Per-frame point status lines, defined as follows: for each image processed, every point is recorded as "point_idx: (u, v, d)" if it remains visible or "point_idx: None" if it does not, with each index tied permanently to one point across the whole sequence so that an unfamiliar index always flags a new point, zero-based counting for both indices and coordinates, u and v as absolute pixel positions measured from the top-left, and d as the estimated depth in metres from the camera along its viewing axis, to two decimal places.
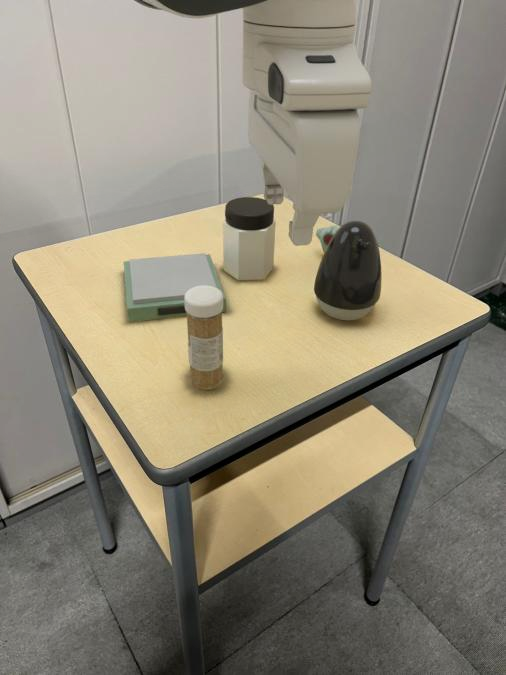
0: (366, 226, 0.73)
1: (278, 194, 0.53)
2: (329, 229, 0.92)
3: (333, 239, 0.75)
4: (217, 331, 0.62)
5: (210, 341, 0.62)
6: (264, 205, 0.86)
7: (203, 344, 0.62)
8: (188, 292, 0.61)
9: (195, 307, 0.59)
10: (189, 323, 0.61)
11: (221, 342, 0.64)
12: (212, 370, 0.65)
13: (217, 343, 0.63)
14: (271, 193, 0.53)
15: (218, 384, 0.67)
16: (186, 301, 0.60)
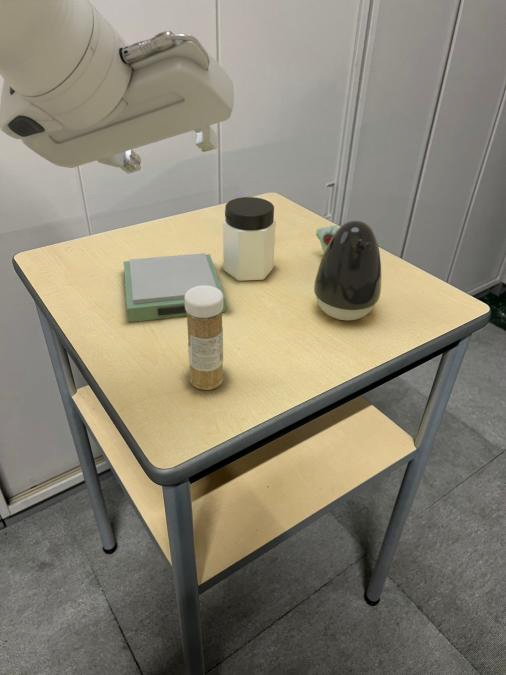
0: (366, 226, 0.73)
1: None
2: (329, 229, 0.92)
3: (333, 239, 0.75)
4: (217, 331, 0.62)
5: (211, 341, 0.62)
6: (264, 205, 0.86)
7: (203, 344, 0.62)
8: (188, 292, 0.61)
9: (195, 307, 0.59)
10: (189, 323, 0.61)
11: (221, 342, 0.64)
12: (212, 370, 0.65)
13: (217, 343, 0.63)
14: None
15: (218, 384, 0.67)
16: (186, 301, 0.60)
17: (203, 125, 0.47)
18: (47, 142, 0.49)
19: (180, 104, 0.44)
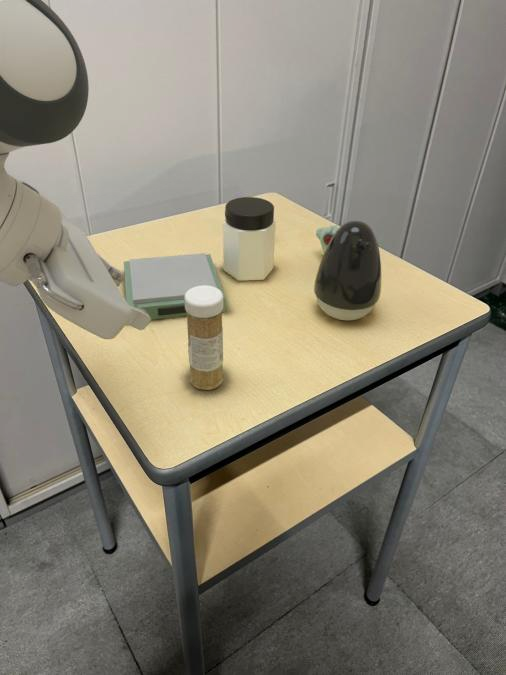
0: (366, 226, 0.73)
1: None
2: (329, 229, 0.92)
3: (333, 239, 0.75)
4: (217, 331, 0.62)
5: (210, 341, 0.62)
6: (264, 205, 0.86)
7: (203, 344, 0.62)
8: (188, 292, 0.61)
9: (195, 307, 0.59)
10: (189, 323, 0.61)
11: (221, 342, 0.64)
12: (212, 370, 0.65)
13: (217, 343, 0.63)
14: None
15: (218, 384, 0.67)
16: (186, 301, 0.60)
17: None
18: None
19: None
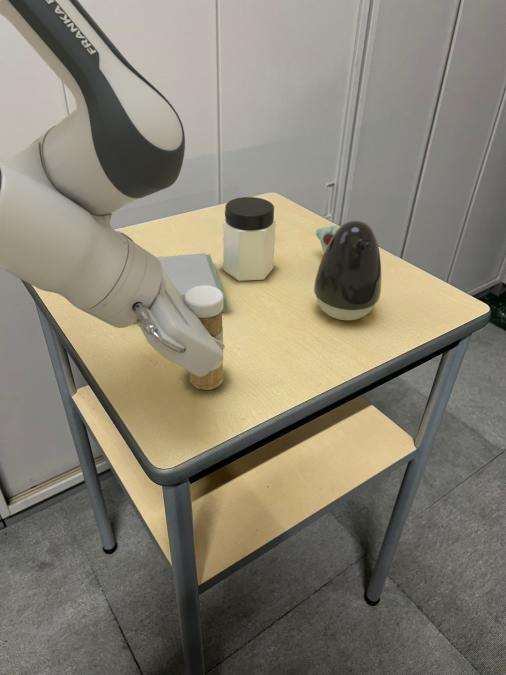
0: (366, 226, 0.73)
1: None
2: (329, 229, 0.92)
3: (333, 239, 0.75)
4: (217, 331, 0.62)
5: None
6: (264, 205, 0.86)
7: None
8: (188, 292, 0.61)
9: (196, 307, 0.59)
10: None
11: None
12: (212, 370, 0.65)
13: None
14: None
15: (218, 384, 0.67)
16: (186, 301, 0.60)
17: None
18: None
19: None
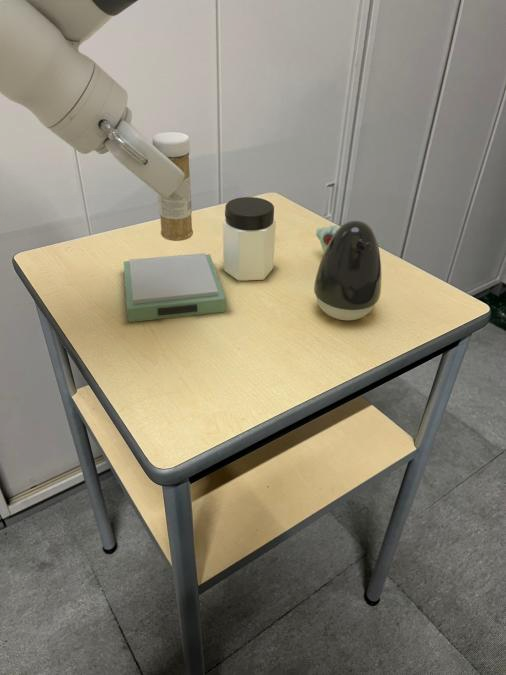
0: (366, 226, 0.73)
1: None
2: (329, 229, 0.92)
3: (333, 239, 0.75)
4: (184, 175, 0.66)
5: None
6: (264, 205, 0.86)
7: None
8: (156, 135, 0.64)
9: (162, 145, 0.63)
10: None
11: None
12: (180, 218, 0.69)
13: None
14: None
15: (187, 236, 0.71)
16: (154, 141, 0.63)
17: None
18: None
19: None
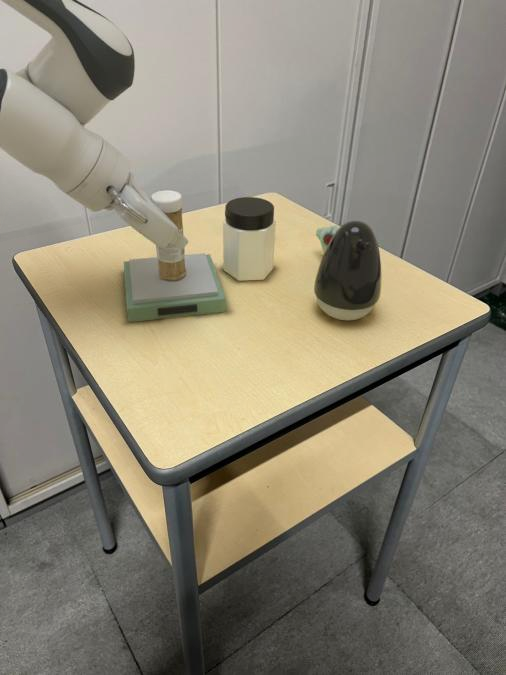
0: (366, 226, 0.73)
1: None
2: (329, 229, 0.92)
3: (333, 239, 0.75)
4: (178, 227, 0.78)
5: None
6: (264, 205, 0.86)
7: None
8: (154, 194, 0.76)
9: (159, 203, 0.74)
10: None
11: None
12: (175, 261, 0.80)
13: None
14: None
15: (181, 276, 0.82)
16: (152, 199, 0.75)
17: None
18: None
19: None
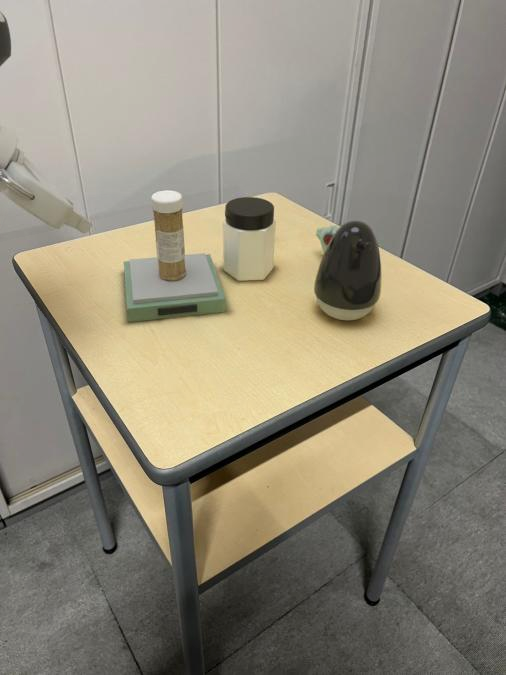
0: (366, 226, 0.73)
1: None
2: (329, 229, 0.92)
3: (333, 239, 0.75)
4: (178, 227, 0.77)
5: (173, 235, 0.78)
6: (264, 205, 0.86)
7: (167, 238, 0.78)
8: (154, 194, 0.76)
9: (159, 204, 0.74)
10: (155, 220, 0.77)
11: (182, 238, 0.79)
12: (175, 262, 0.80)
13: (178, 238, 0.78)
14: None
15: (181, 276, 0.82)
16: (152, 200, 0.75)
17: None
18: None
19: None
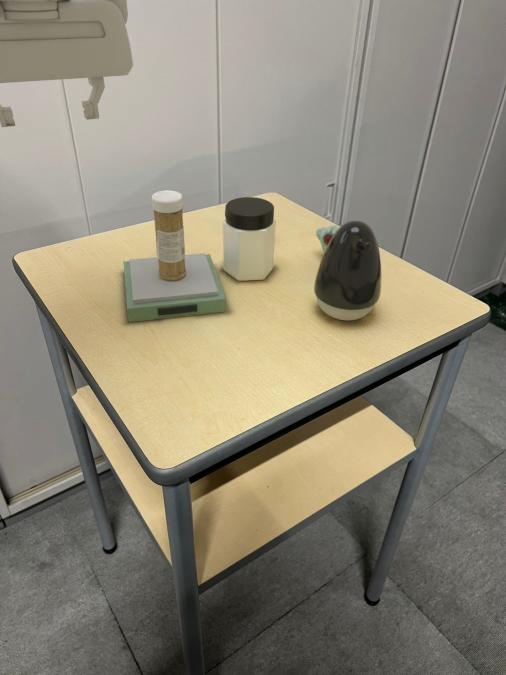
0: (366, 226, 0.73)
1: None
2: (329, 229, 0.92)
3: (333, 239, 0.75)
4: (178, 227, 0.77)
5: (173, 235, 0.78)
6: (264, 205, 0.86)
7: (167, 238, 0.78)
8: (155, 194, 0.76)
9: (160, 203, 0.74)
10: (156, 219, 0.77)
11: (182, 238, 0.79)
12: (175, 261, 0.80)
13: (179, 238, 0.78)
14: (83, 106, 0.62)
15: (181, 276, 0.82)
16: (152, 199, 0.75)
17: (107, 72, 0.59)
18: None
19: (99, 38, 0.57)
